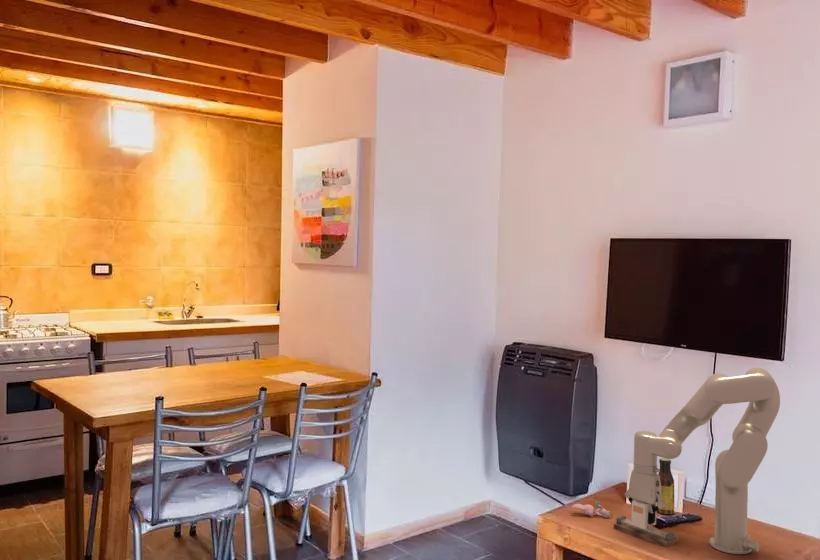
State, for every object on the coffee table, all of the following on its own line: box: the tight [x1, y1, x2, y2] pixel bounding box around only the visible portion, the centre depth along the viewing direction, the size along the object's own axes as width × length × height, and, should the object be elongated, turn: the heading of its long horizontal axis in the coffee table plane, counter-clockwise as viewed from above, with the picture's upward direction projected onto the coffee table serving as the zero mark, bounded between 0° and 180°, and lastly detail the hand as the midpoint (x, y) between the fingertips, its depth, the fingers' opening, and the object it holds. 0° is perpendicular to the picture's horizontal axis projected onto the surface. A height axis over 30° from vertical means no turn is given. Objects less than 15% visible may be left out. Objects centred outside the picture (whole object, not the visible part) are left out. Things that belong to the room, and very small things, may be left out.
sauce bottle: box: [656, 457, 675, 515], centre depth 252 cm, size 6×6×20 cm
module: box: [630, 500, 657, 529], centre depth 232 cm, size 5×7×8 cm
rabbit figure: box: [571, 501, 614, 519], centre depth 249 cm, size 6×6×15 cm
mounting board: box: [613, 522, 678, 548], centre depth 232 cm, size 20×7×2 cm, turn 38°
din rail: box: [615, 515, 676, 541], centre depth 232 cm, size 20×4×2 cm, turn 38°
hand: (643, 520), depth 232 cm, fingers closed on module, 5 cm apart
